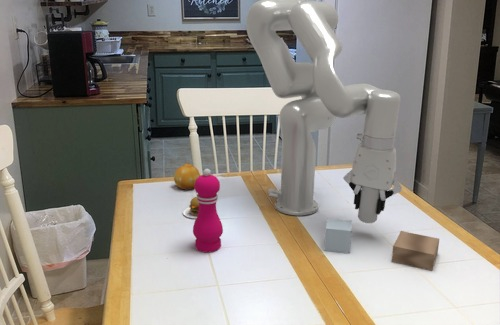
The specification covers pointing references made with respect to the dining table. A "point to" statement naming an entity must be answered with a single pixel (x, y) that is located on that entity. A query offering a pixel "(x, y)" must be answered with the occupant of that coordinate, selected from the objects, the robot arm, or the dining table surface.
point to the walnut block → (415, 250)
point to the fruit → (186, 176)
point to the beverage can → (368, 204)
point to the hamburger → (193, 207)
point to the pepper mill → (207, 214)
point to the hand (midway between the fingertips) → (368, 209)
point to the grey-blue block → (338, 235)
